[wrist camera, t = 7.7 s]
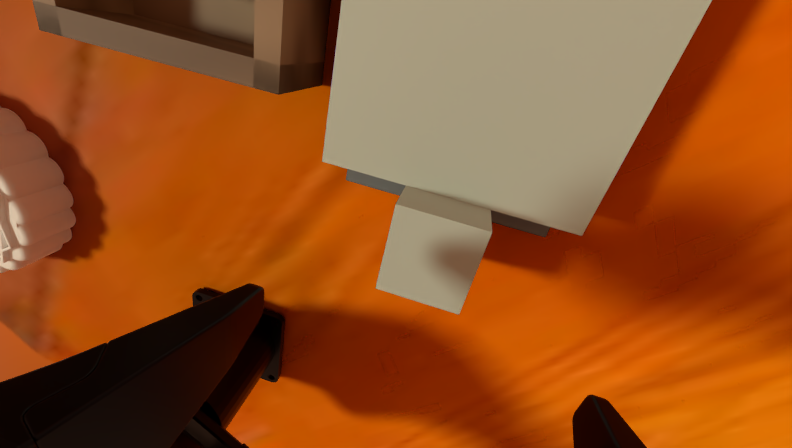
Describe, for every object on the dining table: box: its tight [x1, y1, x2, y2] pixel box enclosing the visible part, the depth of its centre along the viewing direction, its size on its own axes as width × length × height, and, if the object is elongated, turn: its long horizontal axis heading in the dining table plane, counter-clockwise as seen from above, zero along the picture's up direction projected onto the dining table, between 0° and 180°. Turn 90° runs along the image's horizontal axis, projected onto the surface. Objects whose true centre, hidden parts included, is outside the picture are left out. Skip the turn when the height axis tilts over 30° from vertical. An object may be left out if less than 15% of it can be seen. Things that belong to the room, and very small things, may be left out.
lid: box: [322, 0, 712, 314], centre depth 12 cm, size 17×11×4 cm, turn 168°
